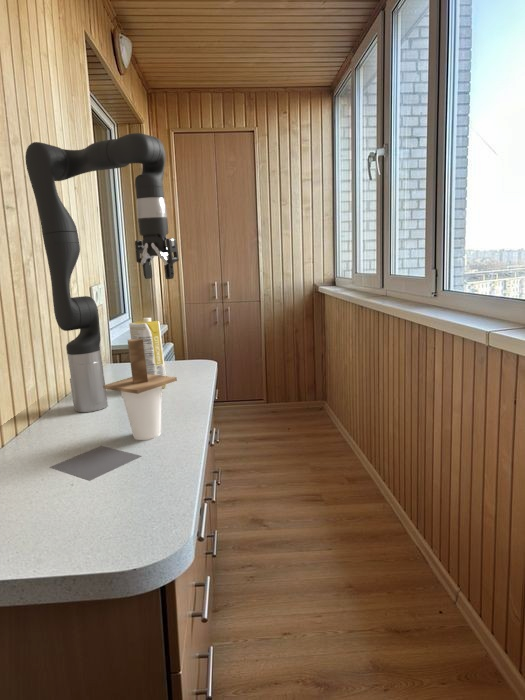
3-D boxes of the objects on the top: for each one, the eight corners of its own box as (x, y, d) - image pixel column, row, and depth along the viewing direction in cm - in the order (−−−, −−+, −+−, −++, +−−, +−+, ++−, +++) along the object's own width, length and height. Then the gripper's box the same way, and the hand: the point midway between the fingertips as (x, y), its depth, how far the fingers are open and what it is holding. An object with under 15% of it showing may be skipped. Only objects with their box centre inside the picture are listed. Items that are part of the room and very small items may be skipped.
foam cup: (157, 444, 111) (150, 389, 109) (120, 444, 113) (113, 390, 111) (173, 429, 120) (167, 379, 118) (138, 429, 122) (132, 380, 120)
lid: (103, 388, 113) (97, 343, 111) (143, 376, 122) (138, 334, 120) (137, 393, 106) (131, 345, 104) (176, 380, 115) (172, 336, 113)
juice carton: (170, 386, 164) (162, 316, 159) (153, 393, 157) (145, 319, 153) (150, 384, 169) (142, 316, 164) (133, 390, 162) (124, 319, 158)
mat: (49, 468, 101) (49, 467, 101) (101, 447, 112) (101, 445, 112) (90, 482, 93) (89, 480, 93) (142, 457, 104) (141, 455, 104)
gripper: (181, 214, 125) (187, 277, 129) (146, 218, 134) (152, 277, 138) (159, 215, 120) (166, 280, 123) (123, 218, 128) (130, 279, 132)
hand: (158, 278), depth 131 cm, fingers open, 8 cm apart
